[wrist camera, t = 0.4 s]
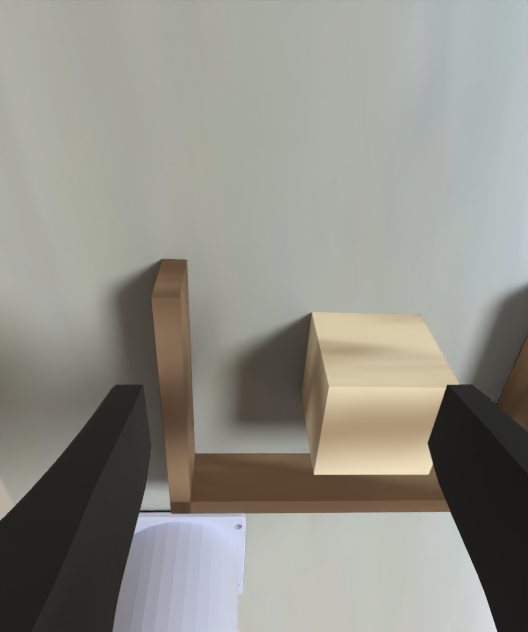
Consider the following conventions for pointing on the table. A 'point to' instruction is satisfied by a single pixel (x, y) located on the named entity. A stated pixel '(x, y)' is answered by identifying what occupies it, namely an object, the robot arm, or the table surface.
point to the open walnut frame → (272, 469)
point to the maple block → (372, 393)
